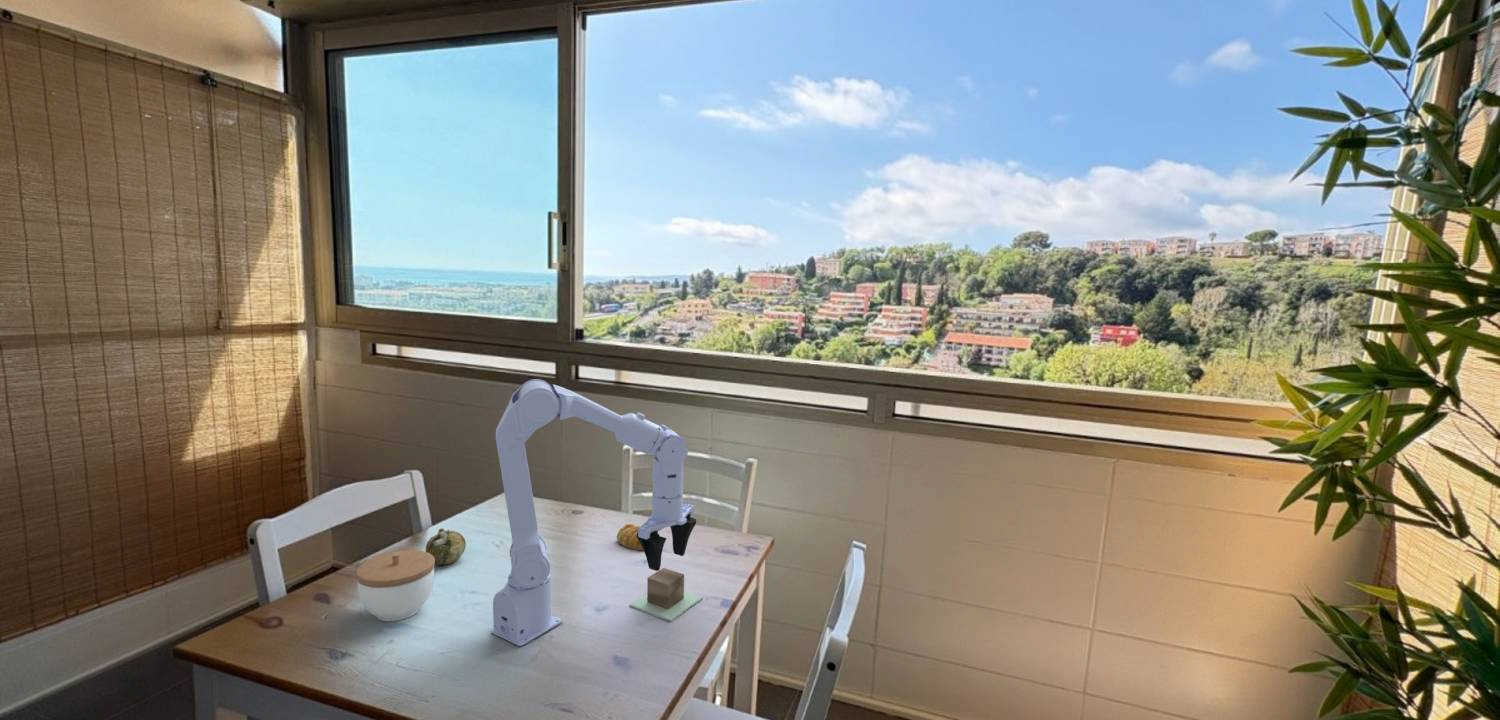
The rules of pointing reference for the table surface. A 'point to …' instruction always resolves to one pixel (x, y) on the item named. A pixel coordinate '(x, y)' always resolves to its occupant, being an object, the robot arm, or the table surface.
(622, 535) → the pastry
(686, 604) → the green pad
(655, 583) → the walnut cube
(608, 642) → the table surface
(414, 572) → the lidded bowl
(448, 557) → the green pumpkin
